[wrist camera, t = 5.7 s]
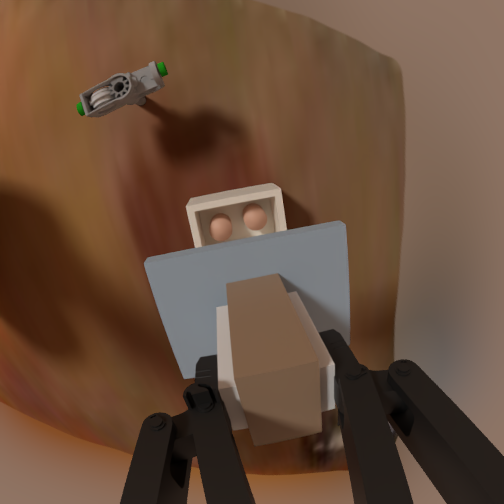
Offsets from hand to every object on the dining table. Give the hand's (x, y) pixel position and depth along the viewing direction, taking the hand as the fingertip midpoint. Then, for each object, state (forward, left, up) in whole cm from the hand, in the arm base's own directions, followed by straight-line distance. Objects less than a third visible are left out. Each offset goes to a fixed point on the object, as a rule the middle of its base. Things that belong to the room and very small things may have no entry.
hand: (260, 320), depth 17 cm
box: (0, 0, -26) cm, 26 cm away
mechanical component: (-9, +19, -26) cm, 34 cm away
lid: (0, 0, -2) cm, 2 cm away
